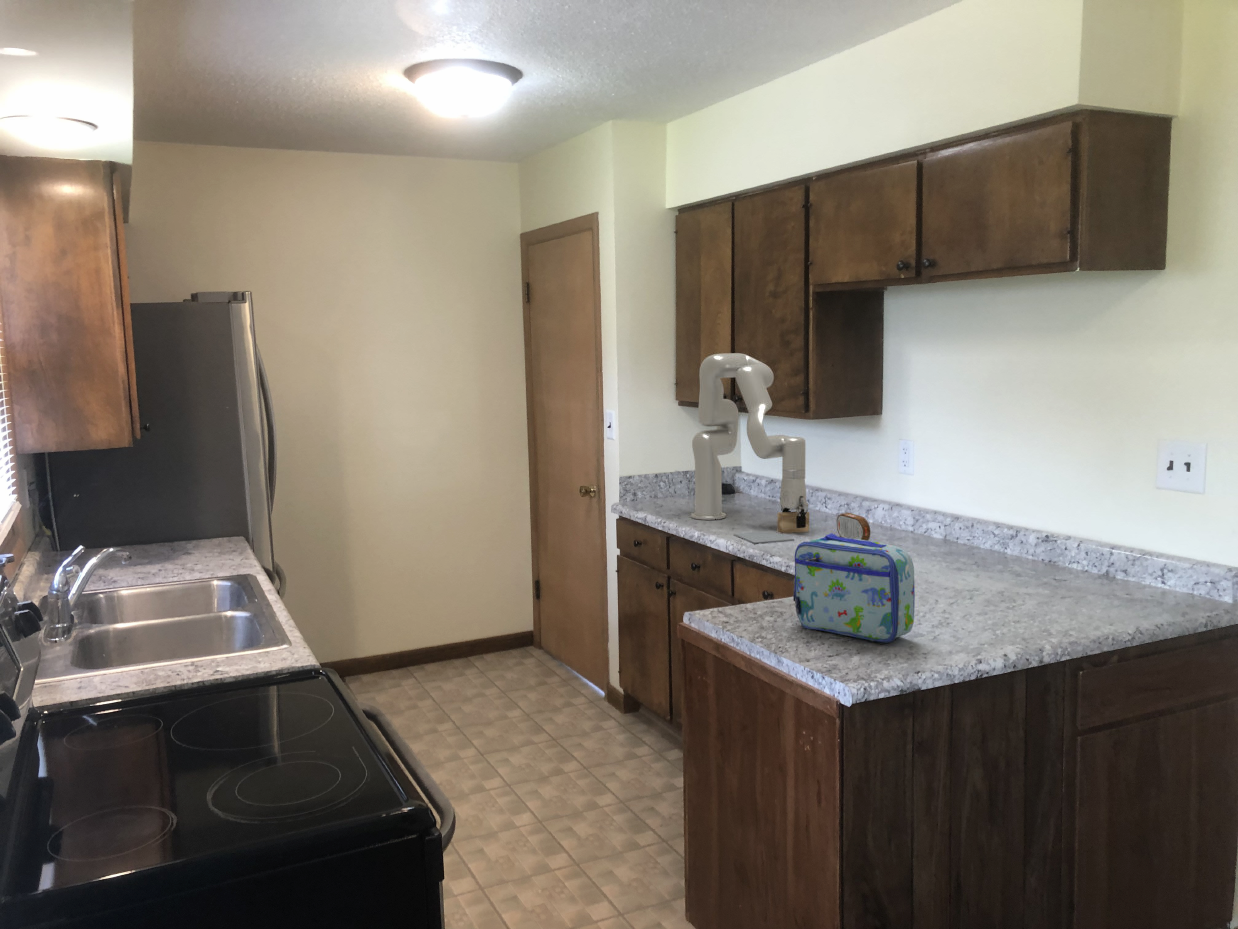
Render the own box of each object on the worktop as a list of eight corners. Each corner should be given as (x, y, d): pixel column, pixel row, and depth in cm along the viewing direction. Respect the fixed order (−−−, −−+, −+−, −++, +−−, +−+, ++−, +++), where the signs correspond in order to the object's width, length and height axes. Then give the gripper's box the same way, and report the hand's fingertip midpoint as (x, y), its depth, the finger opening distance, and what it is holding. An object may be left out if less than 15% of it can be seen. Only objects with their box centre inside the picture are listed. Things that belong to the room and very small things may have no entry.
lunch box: (786, 626, 214) (787, 534, 212) (814, 616, 222) (815, 527, 219) (891, 651, 196) (894, 551, 193) (917, 639, 203) (920, 543, 201)
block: (777, 532, 320) (777, 512, 319) (803, 529, 323) (803, 510, 322) (782, 534, 316) (782, 514, 316) (808, 531, 320) (809, 512, 319)
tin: (871, 544, 298) (871, 518, 297) (862, 545, 297) (863, 518, 296) (842, 535, 312) (843, 510, 311) (834, 536, 311) (834, 511, 309)
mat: (733, 535, 315) (733, 533, 315) (771, 531, 319) (771, 530, 319) (754, 544, 301) (754, 542, 301) (794, 540, 305) (794, 538, 305)
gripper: (771, 472, 324) (771, 521, 326) (796, 478, 308) (796, 530, 310) (790, 470, 326) (790, 520, 329) (817, 476, 310) (817, 528, 312)
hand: (793, 525), depth 319 cm, fingers open, 9 cm apart
